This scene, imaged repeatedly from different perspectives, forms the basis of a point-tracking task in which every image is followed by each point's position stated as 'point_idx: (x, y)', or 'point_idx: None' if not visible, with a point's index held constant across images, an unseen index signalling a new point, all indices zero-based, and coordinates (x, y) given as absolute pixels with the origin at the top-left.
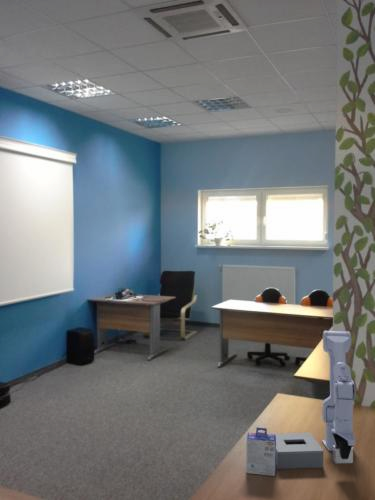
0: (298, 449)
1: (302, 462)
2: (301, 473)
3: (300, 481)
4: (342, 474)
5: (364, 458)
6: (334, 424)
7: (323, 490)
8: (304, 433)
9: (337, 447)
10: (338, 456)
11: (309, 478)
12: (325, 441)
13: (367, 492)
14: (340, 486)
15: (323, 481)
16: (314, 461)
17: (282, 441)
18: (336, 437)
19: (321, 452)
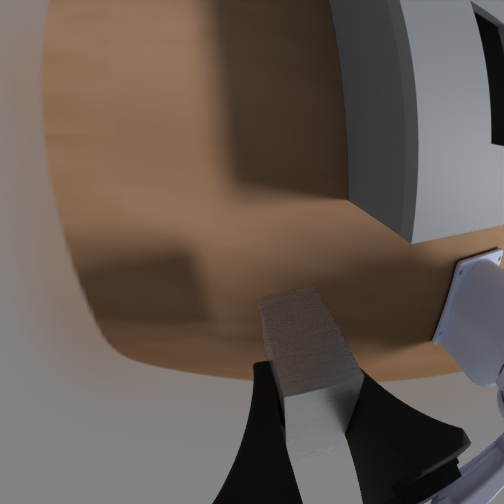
0: (432, 35)
1: (359, 66)
2: (276, 47)
3: (175, 28)
4: (273, 289)
5: (381, 369)
6: (496, 493)
7: (87, 157)
8: None
9: (315, 406)
10: (269, 354)
11: (214, 83)
12: (495, 260)
13: (129, 352)
14: (145, 257)
15: (184, 168)
16: (368, 151)
17: (492, 7)
18: (391, 463)
19: (404, 222)
